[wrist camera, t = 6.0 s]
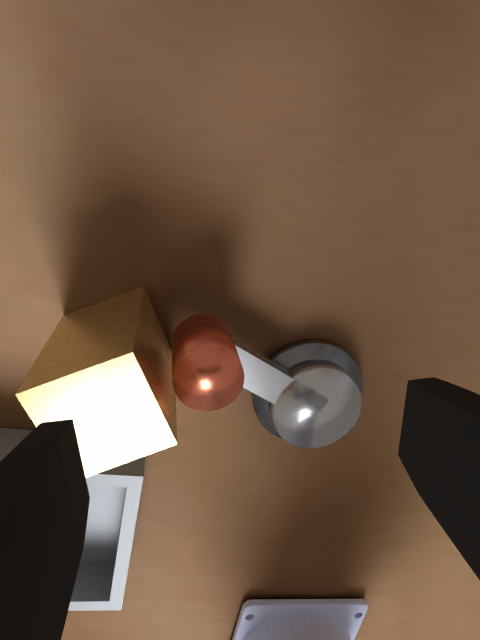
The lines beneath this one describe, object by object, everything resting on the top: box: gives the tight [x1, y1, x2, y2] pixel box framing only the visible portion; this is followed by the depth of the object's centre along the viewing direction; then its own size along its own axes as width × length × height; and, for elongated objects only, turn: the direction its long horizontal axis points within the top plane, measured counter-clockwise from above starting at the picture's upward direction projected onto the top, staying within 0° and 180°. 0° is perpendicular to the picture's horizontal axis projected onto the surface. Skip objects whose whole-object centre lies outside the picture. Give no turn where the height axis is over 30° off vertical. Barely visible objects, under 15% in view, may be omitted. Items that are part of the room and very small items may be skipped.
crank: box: [172, 314, 362, 448], centre depth 17 cm, size 9×4×4 cm, turn 55°
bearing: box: [252, 339, 362, 438], centre depth 20 cm, size 5×5×1 cm
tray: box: [0, 428, 145, 611], centre depth 19 cm, size 8×8×2 cm
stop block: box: [15, 286, 177, 478], centre depth 15 cm, size 3×3×6 cm
